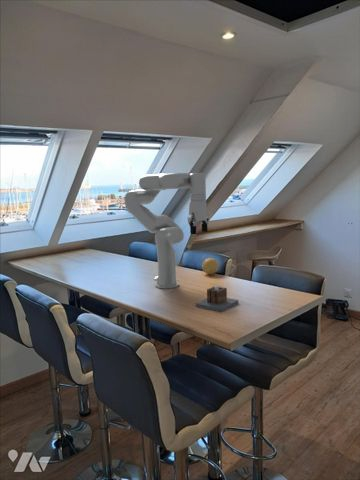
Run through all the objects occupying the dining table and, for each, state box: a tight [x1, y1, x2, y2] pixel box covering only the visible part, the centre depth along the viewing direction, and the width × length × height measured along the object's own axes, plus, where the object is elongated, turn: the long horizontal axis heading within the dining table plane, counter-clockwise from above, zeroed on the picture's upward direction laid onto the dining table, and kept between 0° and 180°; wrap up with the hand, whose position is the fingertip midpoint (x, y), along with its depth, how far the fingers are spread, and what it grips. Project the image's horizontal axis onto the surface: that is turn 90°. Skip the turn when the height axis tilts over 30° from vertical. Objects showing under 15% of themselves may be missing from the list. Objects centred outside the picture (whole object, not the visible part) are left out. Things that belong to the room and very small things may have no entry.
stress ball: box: [201, 257, 219, 276], centre depth 223 cm, size 10×10×10 cm
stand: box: [194, 285, 239, 313], centre depth 166 cm, size 14×14×8 cm
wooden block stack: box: [206, 285, 228, 305], centre depth 166 cm, size 6×6×6 cm
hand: (199, 232), depth 183 cm, fingers open, 9 cm apart
